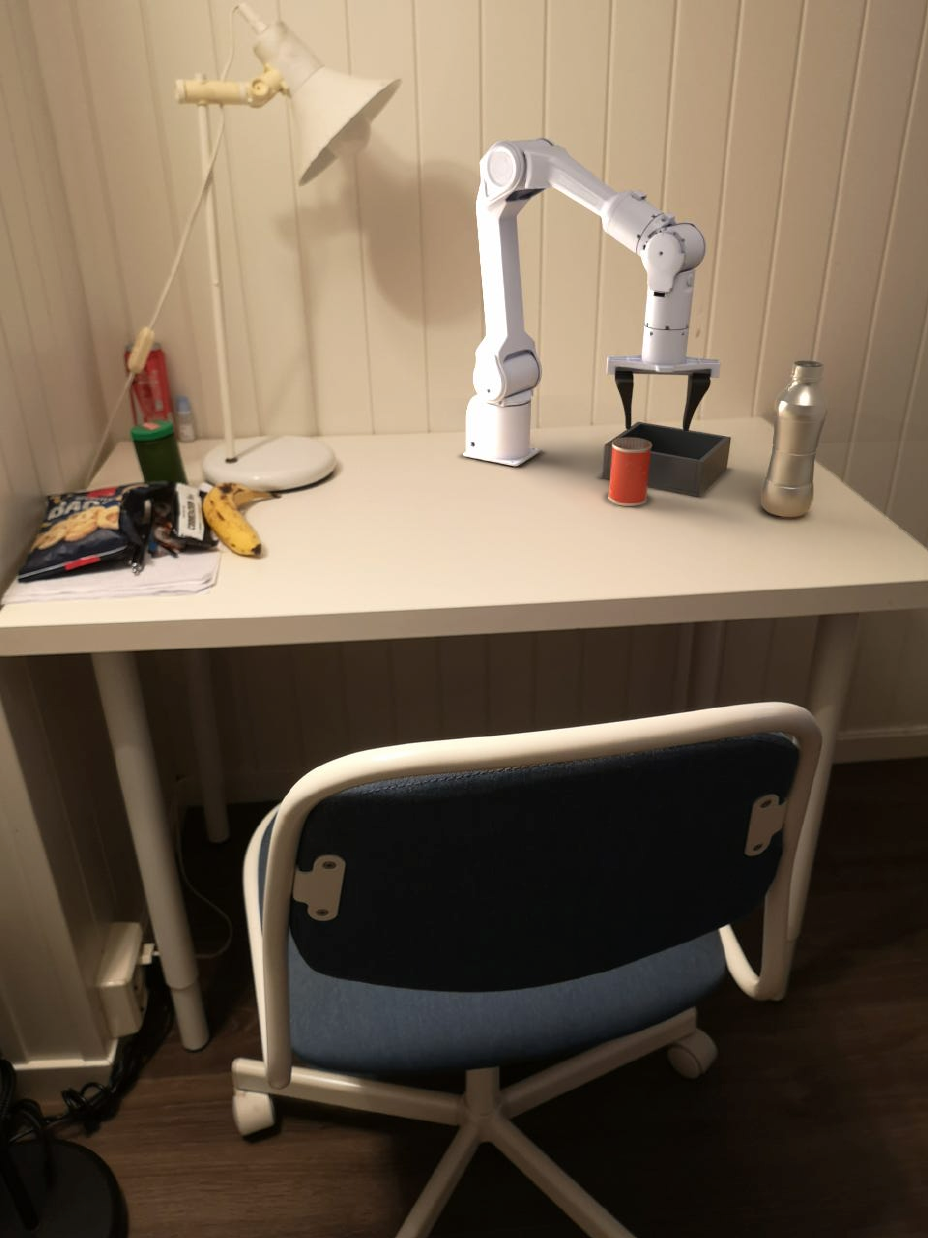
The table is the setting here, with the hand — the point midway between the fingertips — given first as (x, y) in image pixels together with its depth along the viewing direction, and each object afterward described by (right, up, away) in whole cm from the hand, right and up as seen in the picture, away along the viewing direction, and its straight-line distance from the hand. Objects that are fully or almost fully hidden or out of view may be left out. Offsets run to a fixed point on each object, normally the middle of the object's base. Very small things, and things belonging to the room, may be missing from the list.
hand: (656, 427), depth 132 cm
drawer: (+4, -5, +12) cm, 13 cm away
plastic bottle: (+17, -12, -1) cm, 21 cm away
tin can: (-3, -9, +3) cm, 10 cm away
